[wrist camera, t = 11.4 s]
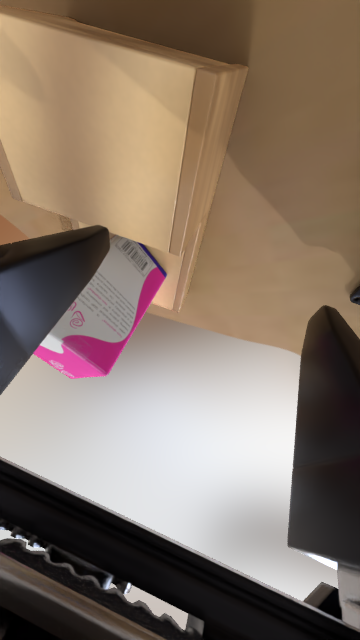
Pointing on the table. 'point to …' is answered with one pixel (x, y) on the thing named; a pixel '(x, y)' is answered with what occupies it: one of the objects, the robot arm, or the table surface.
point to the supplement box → (104, 312)
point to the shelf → (115, 134)
